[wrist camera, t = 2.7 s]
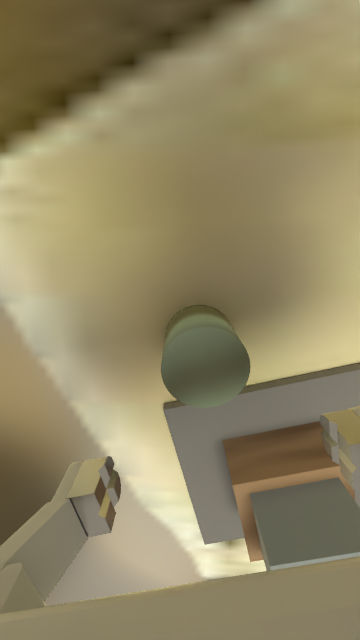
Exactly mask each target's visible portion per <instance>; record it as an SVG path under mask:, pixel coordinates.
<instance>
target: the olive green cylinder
mask: <svg viewBox="0 0 360 640" xmlns="http://www.w3.org/2000/svg"><path fill="white" fill-rule="evenodd" d="M249 373H250V360H249V356H248V353H247V351H246V349H245V347H244V346H243V344H242V343H241V341H240V339H239V338H238V336H237V335H236V333H235V331H234V330H233V328H232V327H231V325H230V323H229V322H228V320H227V319H226V317H225V316H224V315H223V314H222V313H221V312H219V311H218V310H216V309H214V308H212V307H209V306H202V305H196V306H191V307H187V308H185V309H183V310H181V311H180V312H178V313H177V314H176V315H175V316H174V317H173V318H172V319H171V321H170V322H169V324H168V327H167V330H166V335H165V343H164V350H163V357H162V364H161V374H162V379H163V382H164V384H165V386H166V388H167V390H168V391H169V392H170V393H171V394H172V395H173V397H175V398H176V399H177V400H179V401H180V402H182V403H184V404H186V405H189V406H193V407H199V408H210V407H215V406H219V405H222V404H225V403H226V402H228V401H230V400H232V399H233V398H234V397H236V396H237V395H238V394H239V393H240V392H241V391H242V389H243V388H244V386H245V384H246V383H247V380H248V377H249Z"/></svg>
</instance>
